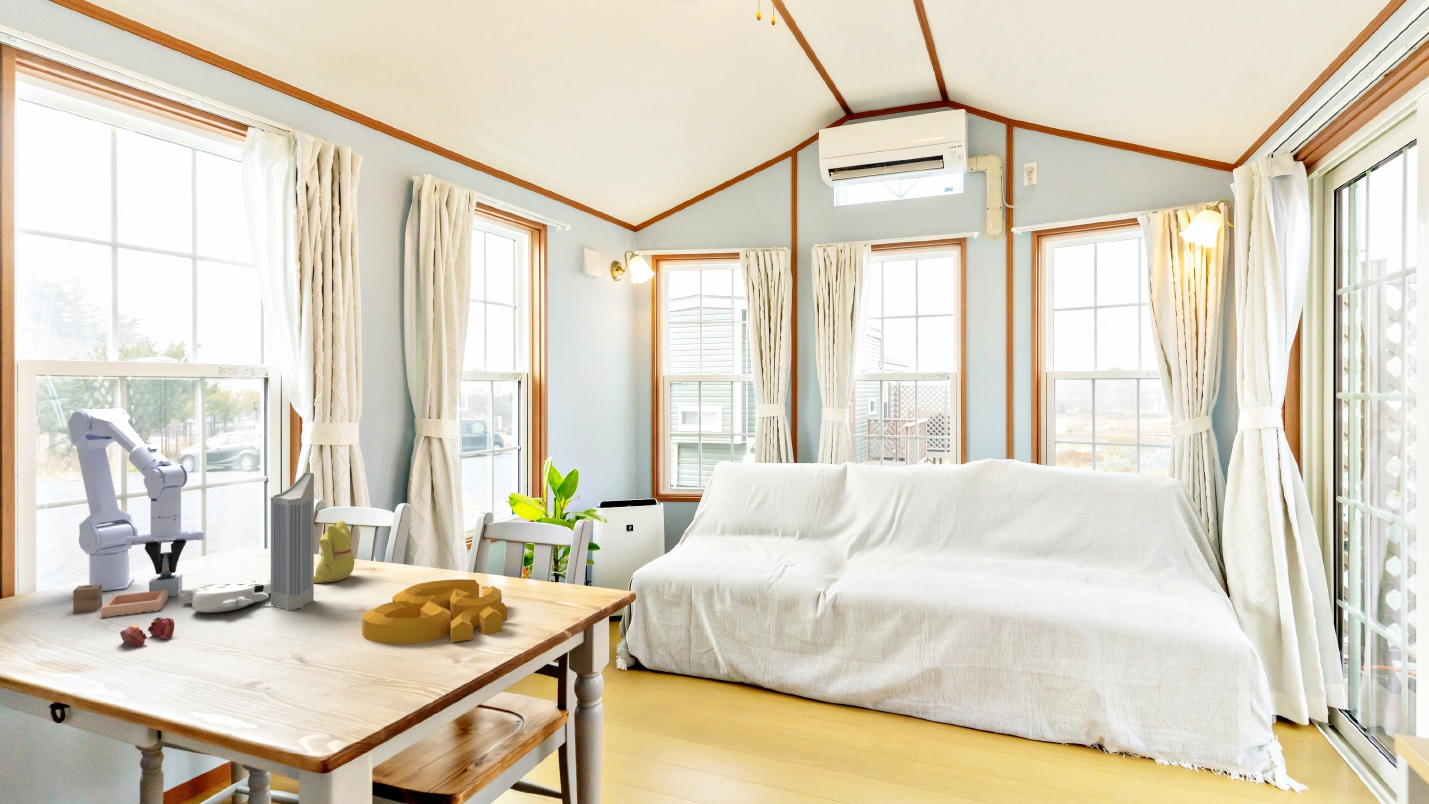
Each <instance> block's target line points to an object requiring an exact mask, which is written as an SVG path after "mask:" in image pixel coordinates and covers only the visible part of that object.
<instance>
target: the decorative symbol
mask: <svg viewBox="0 0 1429 804" xmlns="http://www.w3.org/2000/svg"><path fill="white" fill-rule="evenodd" d="M502 596H503V595H502V590H501V589H499V588H498V587H495V586H493V585H491V586H489V587H488V588H486V589H485V590H482V596H480V584H479V583H478V581H476V579H465V578H464V579H463V578H462V579H461V578H460V579H444V580H443V579H442V580H433V581H426V582H422V583H421V582H420V583H417V584H414V585H411V586H409V587H407V588H405V589H403V590H402V591H400V592H397V593H395V594H394V595H393V596H392V598H391V599H392V602H387V603H383V604H381V605H378V606H376V607H375V608H372V609H370V610H368V611H367V612H365V613H363V615H362V618H361V620H362V625H361V626H362V627H361V630H362V633H361V635H362V637H363V638H364V639H365V640H367V641H369V642H370V641H371V642H374V643H378V644H379V643H380V644H388V645H389V644H393V645H401V644H402V645H405V644H406V645H411V644H418V643H419V644H420V643H427V642H431V641H436V640H441V639H443V638H444V637H446V636H448V635H449V634H450V641H451V643H455V642H462V641H463V642H464V641H470V640H473V639H474V629H475V628H477V627H478V629H479V631H480V632H481V633H482V634H483V636H486V635H485V634H487V635H490V634H496V632H498V633H502V632H503V622H507V621H508V607H507V606H506V604H505V603H504V602H502V600H503V599H502V598H503V597H502ZM451 620H452V621H451ZM501 631H502V632H501Z"/></svg>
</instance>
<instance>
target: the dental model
mask: <svg viewBox="0 0 1429 804" xmlns="http://www.w3.org/2000/svg"><path fill="white" fill-rule="evenodd" d="M174 631H175V620H174V619H173V618H169V617H165V618H164V617H156V618H154V619H153V620H152V622H151V623H150V625H148V629H147V632H150V633H149V634H150V635H152V636H158V637H160V638H161V639H164V640H171V639H172V637H173V635H174ZM119 634H120V637H121V639H122V641H123V643H125V644H127V645H130V646H131V647H135V648H139V647H142V646H144V645H145V642H146V641H145V640H147V638H148V636H147V635H146V633H144V631H143V630H142V629H140V627H138V625H136V624H132V625H129V626H128V627H127V628H125V629H123V630H121V631H120V632H119ZM170 638H171V639H170Z"/></svg>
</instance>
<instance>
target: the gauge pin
mask: <svg viewBox="0 0 1429 804" xmlns="http://www.w3.org/2000/svg"><path fill="white" fill-rule="evenodd" d="M171 562H172V556H171V551H167V552H166V551H165V552H161V553H160V574H159V576H160V580H165V579H172V575H173V573H171Z"/></svg>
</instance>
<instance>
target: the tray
mask: <svg viewBox="0 0 1429 804" xmlns="http://www.w3.org/2000/svg"><path fill="white" fill-rule="evenodd" d="M167 599H168V600H169V597H168V590H159V591H149V590H148V591H141V592H131V593H125V594H124V593H122V594H113V595H112V596H110V597H109V598H108V599H107V601H105V603H104V604H102V606H101V607H100V618H101V619H102V618H103V619H104V617H105V618H112V617H111V616H113V617H117V616H116V615H121V616H123V615H122V614H130V615H135V614H134V613H138V614H142V613H141V612H147V613H150V612H149V611H155V612H157V611H156V610H161V611H162V609H163V607H164V606H165V604H166V603H167V602H168V600H167ZM165 602H166V603H165ZM163 605H164V606H163ZM161 608H162V609H161Z"/></svg>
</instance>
